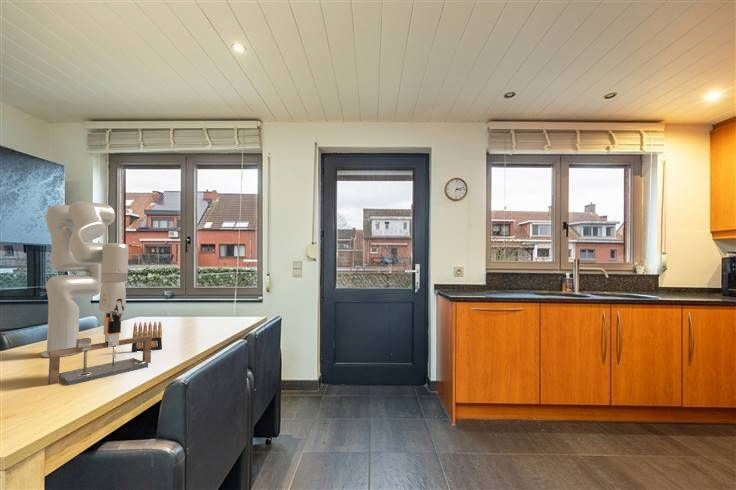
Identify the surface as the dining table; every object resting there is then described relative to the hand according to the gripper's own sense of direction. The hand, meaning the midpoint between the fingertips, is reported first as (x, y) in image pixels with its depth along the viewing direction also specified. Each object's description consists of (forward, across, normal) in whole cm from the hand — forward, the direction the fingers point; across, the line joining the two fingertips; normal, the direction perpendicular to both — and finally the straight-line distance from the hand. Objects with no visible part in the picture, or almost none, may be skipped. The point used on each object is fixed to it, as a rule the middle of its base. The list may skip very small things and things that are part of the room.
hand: (112, 331), depth 118 cm
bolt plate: (+13, 0, -2) cm, 13 cm away
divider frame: (+13, 0, -2) cm, 13 cm away
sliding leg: (+11, +1, 0) cm, 11 cm away
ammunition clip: (+14, -19, +19) cm, 30 cm away
